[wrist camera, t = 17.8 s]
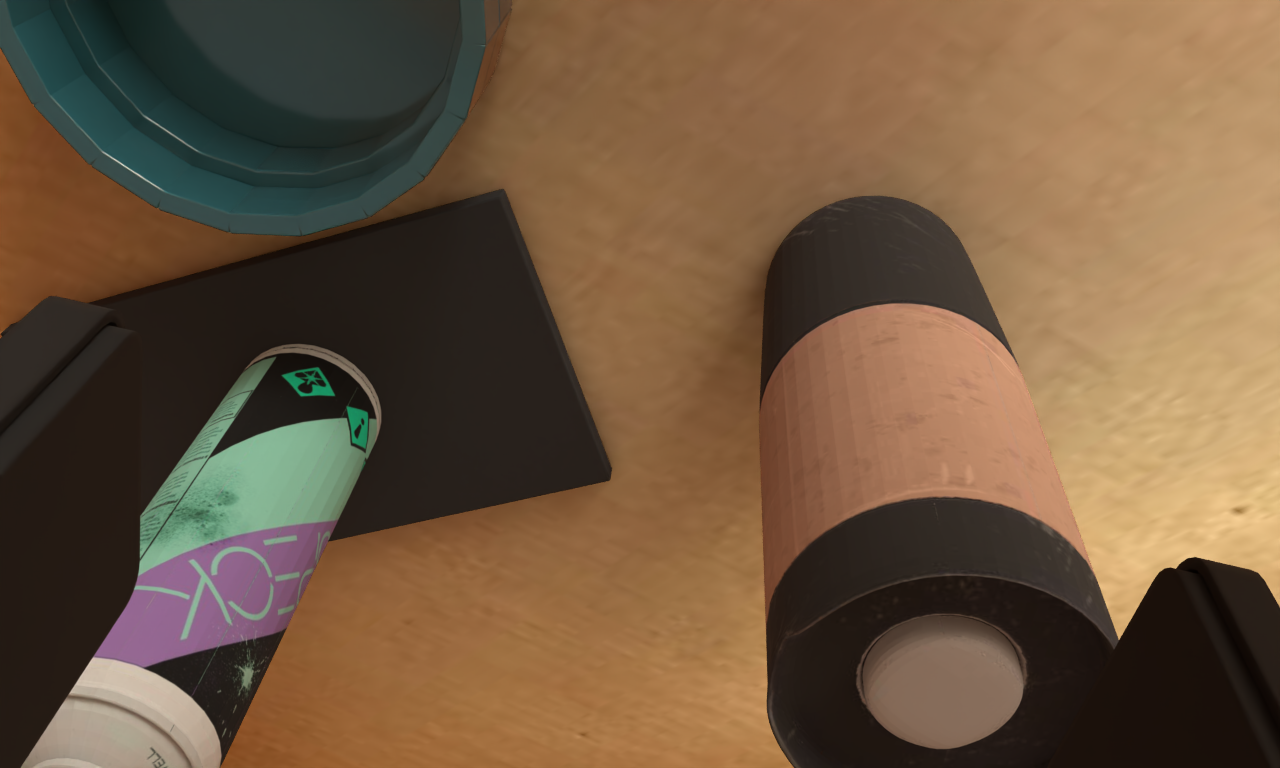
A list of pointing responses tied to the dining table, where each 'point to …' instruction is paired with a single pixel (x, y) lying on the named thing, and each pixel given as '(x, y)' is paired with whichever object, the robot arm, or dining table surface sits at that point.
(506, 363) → the mat
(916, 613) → the travel mug
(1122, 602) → the dining table surface
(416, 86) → the pan
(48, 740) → the spray can
